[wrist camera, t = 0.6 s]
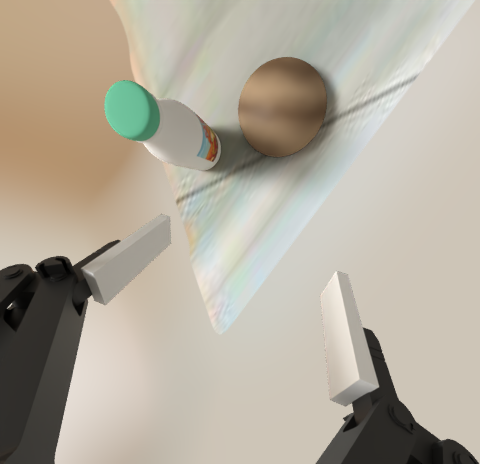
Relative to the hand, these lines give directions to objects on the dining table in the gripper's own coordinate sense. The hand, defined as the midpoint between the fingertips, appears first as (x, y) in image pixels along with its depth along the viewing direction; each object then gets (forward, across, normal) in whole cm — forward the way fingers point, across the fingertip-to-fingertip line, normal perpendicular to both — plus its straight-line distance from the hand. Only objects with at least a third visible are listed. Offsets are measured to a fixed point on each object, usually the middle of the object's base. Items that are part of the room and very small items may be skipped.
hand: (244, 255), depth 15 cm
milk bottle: (+24, -15, +1) cm, 28 cm away
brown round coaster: (+27, -3, +9) cm, 29 cm away
